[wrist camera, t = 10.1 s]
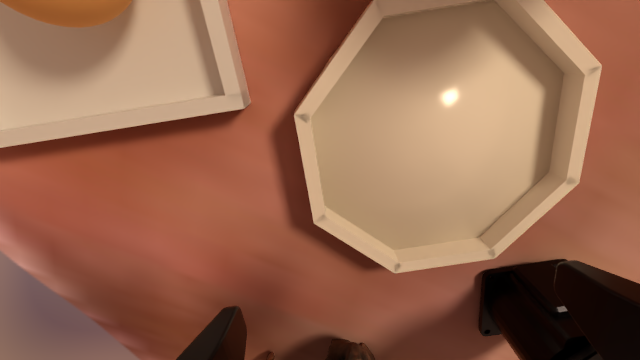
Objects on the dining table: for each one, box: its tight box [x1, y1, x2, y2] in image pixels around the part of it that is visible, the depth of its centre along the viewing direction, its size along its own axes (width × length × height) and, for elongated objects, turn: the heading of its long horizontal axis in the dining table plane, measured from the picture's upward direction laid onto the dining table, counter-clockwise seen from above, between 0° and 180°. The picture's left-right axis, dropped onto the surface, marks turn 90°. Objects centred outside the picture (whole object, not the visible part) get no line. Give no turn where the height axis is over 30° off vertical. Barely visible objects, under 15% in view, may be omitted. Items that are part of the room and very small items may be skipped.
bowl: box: [294, 0, 602, 273], centre depth 18 cm, size 16×16×2 cm
